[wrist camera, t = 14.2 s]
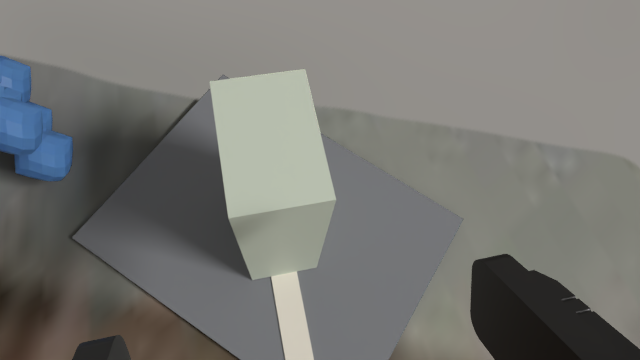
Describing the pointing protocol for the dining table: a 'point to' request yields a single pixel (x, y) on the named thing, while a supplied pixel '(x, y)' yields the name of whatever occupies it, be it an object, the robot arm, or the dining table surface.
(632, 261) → the dining table surface
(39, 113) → the grapes
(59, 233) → the dining table surface
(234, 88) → the sage block
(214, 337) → the mat
